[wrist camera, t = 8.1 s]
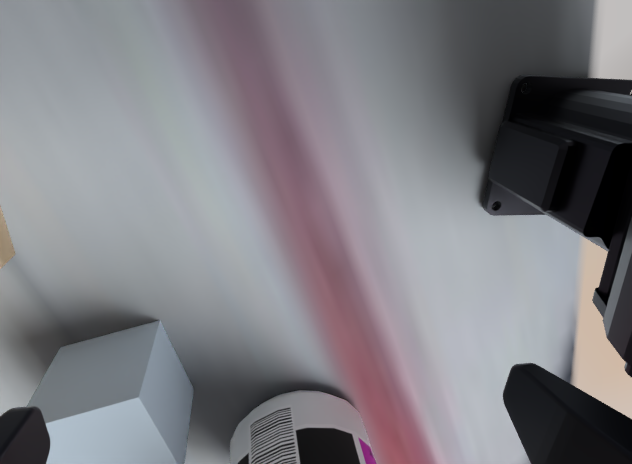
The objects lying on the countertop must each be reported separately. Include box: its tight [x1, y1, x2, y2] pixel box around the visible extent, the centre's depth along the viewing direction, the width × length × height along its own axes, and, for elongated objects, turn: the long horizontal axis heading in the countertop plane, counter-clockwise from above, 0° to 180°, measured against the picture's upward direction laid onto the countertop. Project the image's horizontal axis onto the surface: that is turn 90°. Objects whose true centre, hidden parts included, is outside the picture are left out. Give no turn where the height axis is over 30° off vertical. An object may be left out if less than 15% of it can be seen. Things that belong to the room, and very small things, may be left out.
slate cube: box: [27, 320, 194, 464], centre depth 20 cm, size 5×5×5 cm
